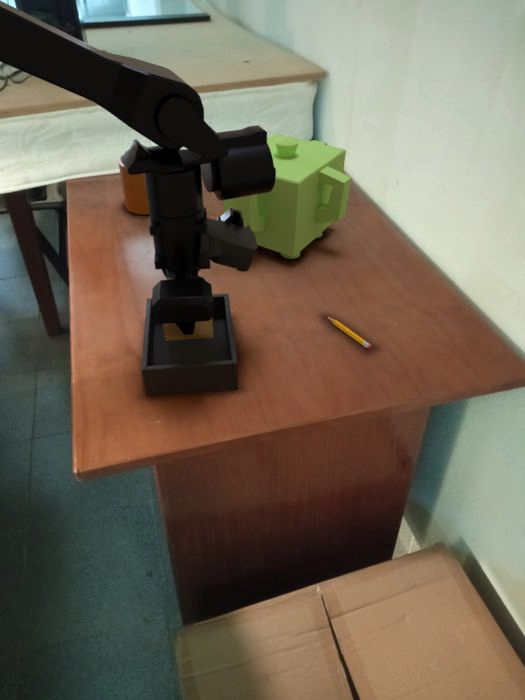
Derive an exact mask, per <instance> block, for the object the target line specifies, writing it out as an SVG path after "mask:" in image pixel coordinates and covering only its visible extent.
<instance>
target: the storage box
mask: <svg viewBox="0 0 525 700" xmlns="http://www.w3.org/2000/svg"><path fill="white" fill-rule="evenodd" d="M267 143H268V146H269V148H270V151H271V154H272V158H273V164H274V167H275V169H276V179H275V184H274V187H273V189H272V191H271V192H267V193H262V194H256V195H250V196H245V197H239V198H233V199H228V200H222V203H223V214H224V213H225V212H226V211H227V210H229V209H230V208H233V209H236V210H240V211H241V212H242V217H243V223H244V227H246V226H247V225H248V226H250V229H251V230H252V231H253V232H254V233H255V237H256V241H257V246H258V247H262V248H264V249H269V250H271V251H274V252H277V253H280V255H281V256H282V257H283V258H285V259H290V260H292V259H293V260H294V259H297V258H299V257H300V256H301V251H302V250H304V249H305V248H306V247H308V245H309V244H311V242H313V241H314V240H315V239H319V238H321V237H322V236H323V232H324V231H325V230H326V229H327V228H329V227H330V226H331V225H332V224H333V223H334V222H339V221H340V220H341V219H342V218H344V217H345V216H346V213H347V207H348V201H349V195H350V190H351V183H352V178H353V177H352V176H351V175H348V174H346V173H344V170H345V161H346V155H347V151H346V149H345V148H341V147H336V146H333V145H328V142H324V141H321V140H315V139H314V140H306V139H303V138H298V137H294V136H289V135H284V134H280V133H276V132H275V133H274V134H271V135H269V136H267Z"/></svg>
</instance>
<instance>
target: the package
mask: <svg viewBox="0 0 525 700" xmlns="http://www.w3.org/2000/svg"><path fill="white" fill-rule="evenodd" d="M163 330H164V336H165V341H172V340H187V339H201V338H213V337H214V335H213V319H211V320H209V321H200V322H196V323H195V327H194V333H193V334H192V335H184V334H183V332H182V331H181V330H180V329H179V328H178V326H177V325H176V324H175V323H170V324H163Z"/></svg>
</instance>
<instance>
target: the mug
mask: <svg viewBox="0 0 525 700" xmlns="http://www.w3.org/2000/svg"><path fill="white" fill-rule="evenodd" d="M117 164H118V169H119V175H120V180H121V185H122V193H123V197H124V203H125V208H126V210H127V211H128V212H130V213H132V214H135V215H142V216H143V215H145V216H147V215H149V216H150V213H149V206H148V200H147V193H146V186H145V179H144V173H143V174H137V175H130V174H128V172H127V170H126V169H125V167H124V165H123V164H122V162H121V160H120V158H119V159H118V160H117Z"/></svg>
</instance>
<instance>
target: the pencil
mask: <svg viewBox="0 0 525 700" xmlns="http://www.w3.org/2000/svg"><path fill="white" fill-rule="evenodd" d="M327 319H328V320H329V321H330V322H331V323H332V325H334V326H335V327H336V328H338V329H339V330H340V331H342V332H343V333H345V334H346V335H347V336H348V337H350V338H351V339H352V340H354V342H357V343H358V344H359V345H361V346H362V347H364V348H365V349H366V350H368V351H370V350H372V348H373V345H372V344H370V343H369V342H367V341H366V340H365V339H363V338H362V337H360V336H359V335H358V334H357V333H355V332H354V331H353V330H351V329H350V328H348V327H347V326H346V325H344V324H343V323H341V322H340V321H338V320H337V319H334V318H332V317H329V316H327Z"/></svg>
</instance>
